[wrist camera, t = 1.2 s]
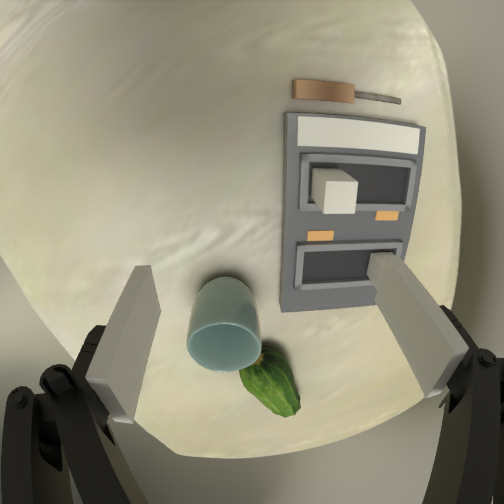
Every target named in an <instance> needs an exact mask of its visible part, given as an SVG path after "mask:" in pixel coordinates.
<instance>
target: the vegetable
mask: <svg viewBox="0 0 504 504" xmlns="http://www.w3.org/2000/svg"><path fill="white" fill-rule="evenodd" d="M239 373H240V377H241V380H242V382H243V385H244V387H245V388H246V389H247V390H248V391H249V392H250V393H251V394H253V395H254V396H255V397H257V398H258V399H259V400H260V401H261V402H262V403H263V404H264V405H265V406H266V407H267V408H269V409H270V410H271V411H272V412H273V413H275V414H277V415H281V416H283V417H288V416H292V415H295V414H296V412H297V411H298V410H299V409H300V408H301V406H300V396H299V394H298V392H297V390H296V387H295V384H294V378H293V374H292V371H291V368H290V366H289V365H288V363H287V361H286V360H285V359H284V358H283V357H282V356H281V355H280V354H279V353H278V352H277V351H276V350H274V349H272V348H264V347H262V348H261V353H260V356H259V357H258V359H257V360H256V361H255V362H254V363H253V364H251V365H249V366H248V367H246V368H243V369H240V370H239Z"/></svg>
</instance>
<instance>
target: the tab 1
mask: <svg viewBox="0 0 504 504" xmlns="http://www.w3.org/2000/svg"><path fill="white" fill-rule="evenodd" d="M357 188H358V181H356V180H355V179H354V178H352V177H351V176H350V175H348V174H347V173H346V172H344V171H343V170H341V169H336V168H312V182H311V197H312V198H313V200H314V201H315V203H316V204H317V205H318V207H319V208H320V210H321V211H322V212H323V214H355V207H356V198H357Z"/></svg>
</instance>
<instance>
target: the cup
mask: <svg viewBox="0 0 504 504" xmlns="http://www.w3.org/2000/svg"><path fill="white" fill-rule="evenodd" d="M261 347H262V341H261V330H260V321H259V315H258V310H257V306H256V302H255V299H254V297H253V295H252V293H251V291H250V290H249V288H248V287H247V286H246V285H245V284H244V283H243V282H241V281H240V280H238V279H236V278H233V277H219V278H216V279H213V280H211V281H210V282H208V283H206V284H205V285H204V286H203V287H202V288H201V289H200V291H199V292H198V294H197V296H196V298H195V301H194V303H193V307H192V311H191V315H190V321H189V327H188V333H187V349H188V352H189V354H190V355H191V357H192V358H193V359H194V360H195V361H196V362H197V363H198V364H199V365H201V366H203V367H204V368H207V369H209V370H212V371H217V372H231V371H237V370H240V369H243V368H246V367H248V366H249V365H251V364H253V363H254V362H255V361H256V360H257V359H258V357H259V356H260V353H261Z"/></svg>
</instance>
